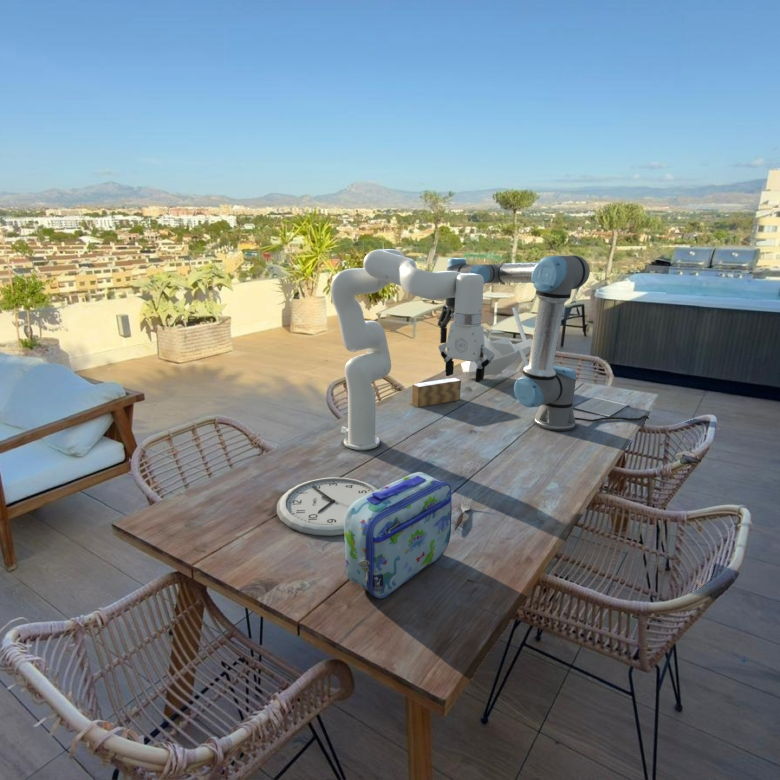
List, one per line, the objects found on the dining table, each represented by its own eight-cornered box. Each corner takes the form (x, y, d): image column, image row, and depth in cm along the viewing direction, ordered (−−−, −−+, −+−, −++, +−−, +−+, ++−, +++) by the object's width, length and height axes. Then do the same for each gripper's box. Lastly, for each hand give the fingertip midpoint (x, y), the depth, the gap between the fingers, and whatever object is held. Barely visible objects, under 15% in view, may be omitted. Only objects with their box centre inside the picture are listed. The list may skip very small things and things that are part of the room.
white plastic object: (482, 419, 265) (461, 396, 241) (463, 346, 287) (443, 319, 263) (553, 395, 253) (539, 368, 228) (528, 321, 275) (513, 290, 250)
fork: (449, 531, 131) (450, 524, 131) (463, 501, 146) (463, 495, 145) (459, 533, 130) (460, 526, 130) (472, 503, 145) (473, 496, 144)
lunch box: (372, 611, 103) (373, 518, 97) (338, 585, 111) (336, 497, 104) (455, 557, 121) (460, 475, 115) (420, 537, 128) (424, 459, 122)
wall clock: (392, 527, 129) (268, 531, 127) (391, 533, 130) (269, 537, 127) (383, 473, 158) (282, 475, 155) (383, 478, 158) (282, 480, 156)
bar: (453, 397, 236) (454, 377, 233) (459, 399, 232) (461, 380, 229) (412, 404, 226) (412, 384, 223) (417, 407, 222) (418, 386, 219)
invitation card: (608, 416, 214) (573, 407, 224) (608, 416, 214) (573, 408, 224) (628, 404, 229) (594, 396, 238) (628, 405, 229) (594, 397, 238)
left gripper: (434, 317, 147) (431, 375, 153) (489, 324, 138) (485, 386, 143) (447, 314, 153) (444, 370, 158) (502, 321, 143) (497, 380, 148)
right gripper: (431, 293, 227) (429, 341, 234) (465, 300, 206) (462, 352, 213) (445, 292, 231) (442, 339, 237) (480, 299, 210) (477, 351, 216)
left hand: (463, 378), depth 151 cm, fingers open, 9 cm apart
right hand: (452, 346), depth 225 cm, fingers open, 13 cm apart
